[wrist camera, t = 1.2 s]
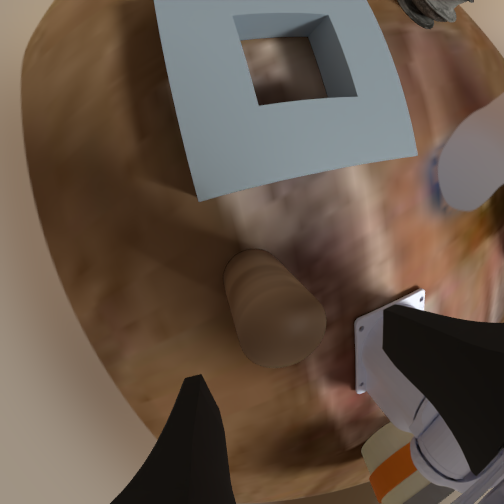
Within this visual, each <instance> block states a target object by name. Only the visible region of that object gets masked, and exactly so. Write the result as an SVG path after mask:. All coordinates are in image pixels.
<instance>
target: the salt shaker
mask: <svg viewBox="0 0 504 504" xmlns="http://www.w3.org/2000/svg"><path fill="white" fill-rule="evenodd" d="M466 1H469V2H471V3H472V2H474V0H398V2H399V4H400V6H401V8H402V9H403V10H404V12H405V13H406V14H407V15H408V16H409V17H410V18H411V19H412V20H413V21H414V22H416V23H417V24H418V25H420V26H421V27H423V28H426V29H431V28H432V27H433V25H434V20H435V21H440V22H447V21H449V22H455V21H456V13H455V11H454V8H455V7H456V6H457V5H459V4H461V3H464V2H466Z"/></svg>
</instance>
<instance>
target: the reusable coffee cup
mask: <svg viewBox="0 0 504 504" xmlns="http://www.w3.org/2000/svg"><path fill="white" fill-rule="evenodd" d="M413 437H414V435H413V434H412V433H409V432H405V431H402V430H400V429H398V428H397V427H395V426H394V425H393V424H392V422H389V423H388V424H386V425H385V426H383V427H382V428H380V429H379V430H378V431H377V432H375V433H374V434H373V435H372V436H371V437H370V438H369V439H368V440H367V441H366V442H365V444H364V445H363V447H362V449H361V453H362V455H363V458H364V460H365V463H366V465H367V467H368V470H369V472H370V474H371V476H370V478H369V480H370V482H371V485H372V487H373V490H374V492H375V495H376V497H377V500H378V502H379V503H383V504H438V503H440V502H441V501H442V500H443V499H445V498H446V497H447V496H449V494H451V493H452V492H453V491H455V490H454V489H452V488H449V487H445V486H438V485H435V484H433V483H431V482H430V481H428V480H427V479H426V478H425V477H423V476H422V475H421V473H420V472H419V471H418V470H417V468H416V467H415V465H414V463H413V461H412V458H411V451H410V442H411V440H412V438H413Z"/></svg>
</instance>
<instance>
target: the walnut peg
mask: <svg viewBox="0 0 504 504" xmlns="http://www.w3.org/2000/svg"><path fill="white" fill-rule="evenodd" d="M223 284H224V288H225V292H226V295H227V299H228V303H229V306H230V310H231V314H232V317H233V321H234V325H235V328H236V332H237V335H238V339H239V342H240V346H241V348H242V351H243V352H244V354H245V355H246V356H247V357H248V359H250V360H251V361H252V362H254V363H256V364H258V365H260V366H263V367H268V368H282V367H287V366H290V365H293V364H296V363H298V362H300V361H302V360H303V359H305V358H306V357H308V356H309V355H310V354H311V353H312V352H313V351H314V350H315V349H316V348H317V347H318V345H319V344H320V342H321V340H322V338H323V336H324V333H325V330H326V323H327V321H326V314H325V311H324V308H323V306H322V305H321V303H320V302H319V301H318V300H317V299H316V298H315V297H314V296H313V295H312V294H311V293H310V292H309V291H308V290H307V289H306V288H305V287H304V286H303V285H302V284H301V283H300V282H299V281H298V280H297V279H296V278H295V277H294V276H293V275H292V274H291V273H290V272H289V271H288V270H287V269H286V268H285V267H284V266H283V265H282V264H281V263H280V262H279V261H278V260H277V259H276V258H275V257H274V256H273V255H272V254H270V253H269V252H267V251H264V250H260V249H249V250H245V251H242V252H240V253H238V254H237V255H235V256H234V257H233V258H232V259H231V260H230V261H229V263H228V264H227V266H226V268H225V271H224V275H223Z"/></svg>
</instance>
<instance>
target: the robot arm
mask: <svg viewBox="0 0 504 504" xmlns="http://www.w3.org/2000/svg"><path fill="white" fill-rule="evenodd" d="M424 300H425V290H424V289H422V288H420V289H418V290H416V291H414V292H412V293H410V294H408V295H406V296H404V297H402V298H400V299H398V300H396V301H394V302H392V303H389V304H387V305H385V306H383V307H381V308H379V309H377V310H374V311H372V312H370V313H368V314H365V315H363V316H361V317H359V318H357V319H356V320H355V323H354V329H355V356H356V392H357V393H358V394H361V393H363V392H365V391H367V392H368V394H369V395H370V396H371V397H372V399H373V400H374V401H375V402H376V404H377V405H378V406H379V407H380V409H381V410H382V411H383V412H384V414H385V415H386V416H387V417H388V419H389V420H390V421H391V422H392V424H393V425H394V426H395V427H397V428H398V429H400V430H402V431H405V432H409V433H412V434H413V435H414V437H413V438H412V440H411V442H410V451H411V458H412V461H413V463H414V465H415V467H416V468H417V470H418V471H419V472H420V473H421V475H422V476H423V477H425V478H426V479H427V480H428V481H430V482H431V483H433V484H435V485H438V486H445V487H449V488H452V489H454V490H456V491H458V492H460V493H463V494H462V495H461V496H459V497H458V498H457V499H456V500H455V501H454V502H452V503H451V504H473V503H475V502H476V501H477V500H478V499H479V498H480V497H481V496H482V495H483V494H484V493H485V492H486V491H487V490H488V489H490V488H493V487H494V488H493V489H492V490H491V491H490V492H489V493H488V494H487V495H485V497H484V498H483V499H482V500H481V501H480V502H479V503H478V504H504V323H487V322H476V321H468V320H463V319H457V318H452V317H447V316H443V315H439V314H435V313H431V312H427V311H424ZM361 326H362V327H361ZM360 327H361V328H360ZM359 328H360V329H359ZM110 504H236V502H235V498H234V494H233V491H232V486H231V480H230V473H229V465H228V456H227V448H226V439H225V431H224V427H223V423H222V419H221V414H220V410H219V408H218V406H217V404H216V402H215V400H214V398H213V396H212V394H211V392H210V390H209V388H208V386H207V384H206V382H205V380H204V378H203V376H202V374H200V375H196V376H192V377H187V378H185V379H184V381H183V384H182V386H181V389H180V392H179V394H178V397H177V399H176V402H175V404H174V407H173V409H172V411H171V414H170V416H169V418H168V420H167V423H166V425H165V427H164V429H163V431H162V433H161V435H160V436H159V438H158V440H157V442H156V444H155V446H154V448H153V449H152V451H151V453H150V454H149V456H148V458H147V459H146V461H145V462H144V464H143V465H142V467H141V468H140V469H139V471H138V472H137V473H136V475H135V476H134V477H133V479H132V480H131V481H130V483H129V484H128V485H127V486H126V487H125V488H124V490H123V491H122V492H121V493H120V494H119V495H118V496H117V497H116V498H115V499H114V500H113V501H112V502H111V503H110Z"/></svg>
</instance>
